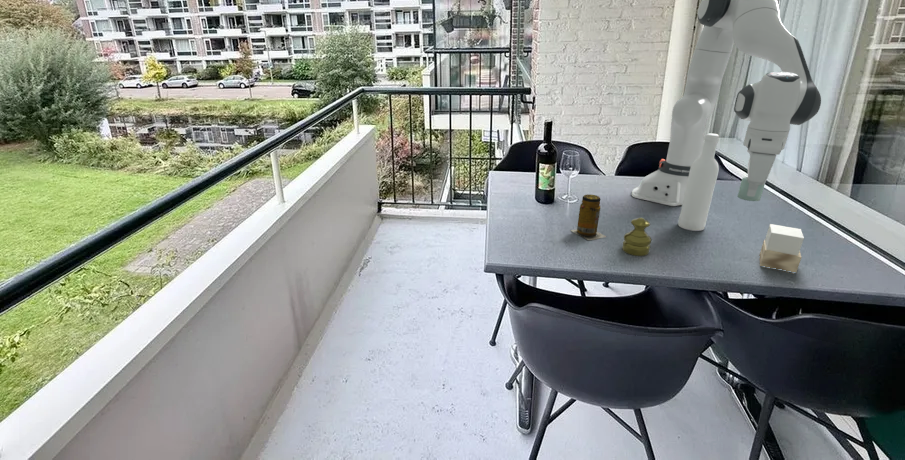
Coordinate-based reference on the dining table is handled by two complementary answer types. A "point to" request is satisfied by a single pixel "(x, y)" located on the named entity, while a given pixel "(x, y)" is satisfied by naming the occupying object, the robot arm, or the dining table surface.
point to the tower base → (779, 259)
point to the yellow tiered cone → (637, 238)
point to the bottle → (700, 187)
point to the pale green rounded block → (744, 189)
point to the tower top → (784, 239)
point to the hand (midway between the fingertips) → (750, 192)
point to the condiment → (589, 218)
